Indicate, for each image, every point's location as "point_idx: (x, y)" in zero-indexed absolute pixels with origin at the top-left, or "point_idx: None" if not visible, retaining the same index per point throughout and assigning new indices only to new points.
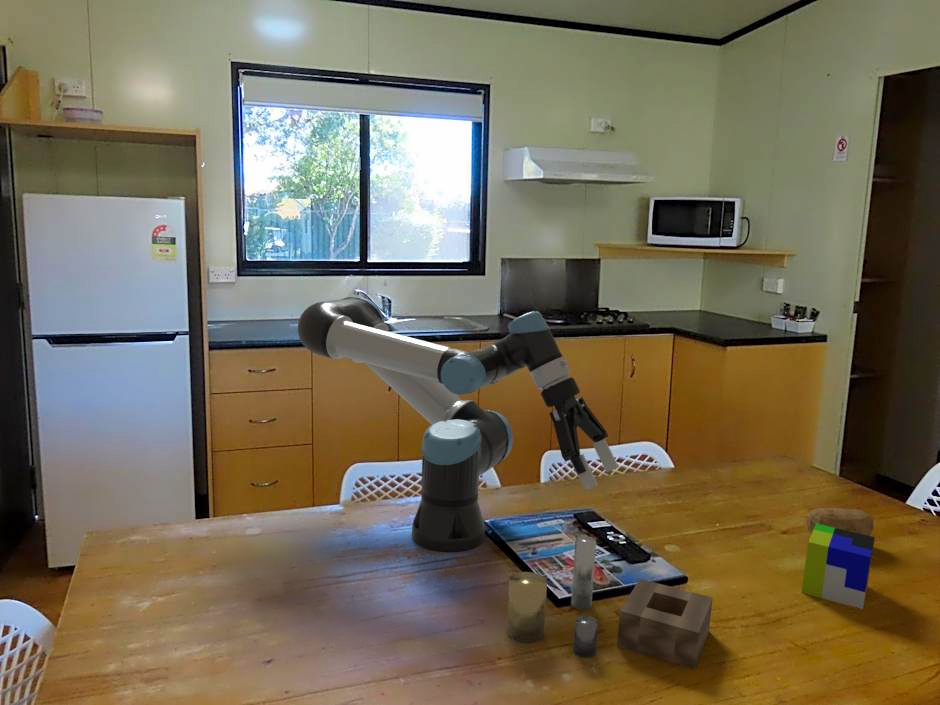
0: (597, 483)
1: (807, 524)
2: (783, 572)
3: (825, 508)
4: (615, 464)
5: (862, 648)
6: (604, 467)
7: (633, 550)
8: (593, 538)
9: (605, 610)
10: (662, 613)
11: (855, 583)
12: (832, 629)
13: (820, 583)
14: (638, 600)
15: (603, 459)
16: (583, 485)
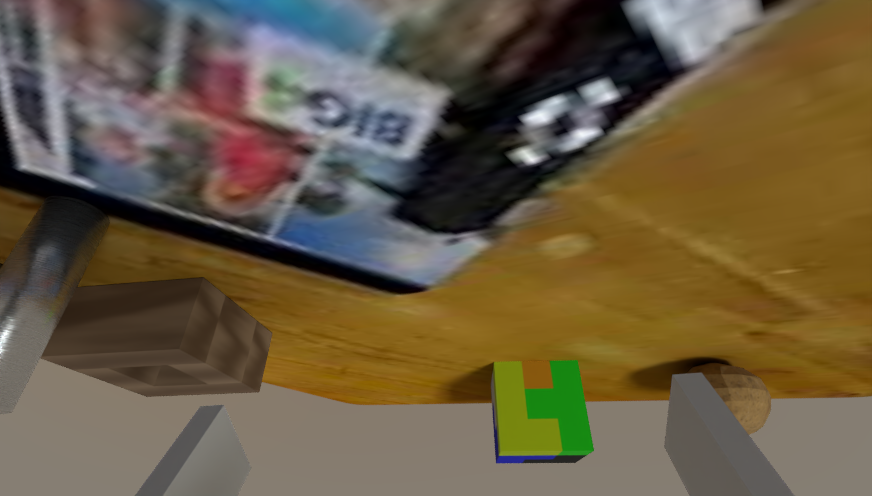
0: (246, 475)
1: (723, 385)
2: (552, 348)
3: (742, 425)
4: (676, 468)
5: (394, 388)
6: (690, 407)
7: (483, 196)
8: (8, 409)
9: (131, 247)
10: (125, 378)
11: (493, 415)
12: (413, 378)
13: (494, 390)
14: (108, 360)
15: (723, 483)
16: (184, 436)
